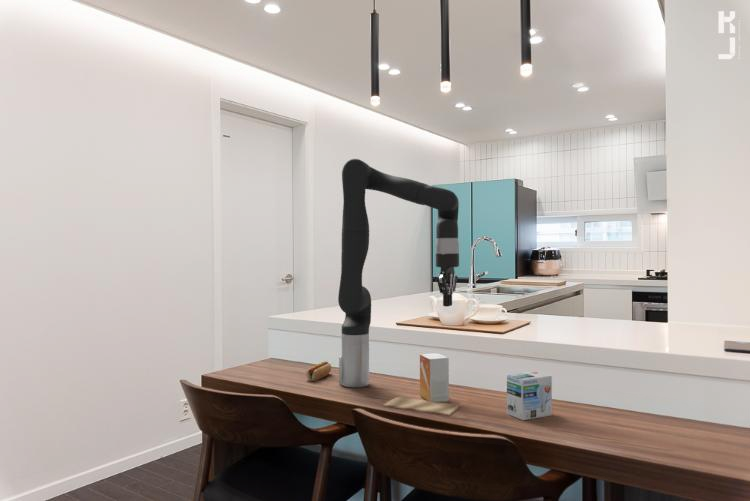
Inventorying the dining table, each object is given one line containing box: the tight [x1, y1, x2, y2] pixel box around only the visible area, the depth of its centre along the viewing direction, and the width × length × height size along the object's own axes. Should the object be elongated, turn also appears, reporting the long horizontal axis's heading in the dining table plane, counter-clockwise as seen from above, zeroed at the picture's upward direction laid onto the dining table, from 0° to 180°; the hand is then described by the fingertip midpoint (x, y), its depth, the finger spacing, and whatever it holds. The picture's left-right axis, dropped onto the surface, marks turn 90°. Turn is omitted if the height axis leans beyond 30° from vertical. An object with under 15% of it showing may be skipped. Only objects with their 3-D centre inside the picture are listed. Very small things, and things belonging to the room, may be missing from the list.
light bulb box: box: [506, 371, 553, 421], centre depth 145 cm, size 11×7×11 cm, turn 117°
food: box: [305, 361, 332, 382], centre depth 189 cm, size 14×6×5 cm, turn 161°
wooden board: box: [383, 396, 461, 416], centre depth 153 cm, size 20×9×1 cm, turn 62°
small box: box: [419, 352, 450, 403], centre depth 161 cm, size 8×6×13 cm
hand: (447, 305), depth 172 cm, fingers closed
